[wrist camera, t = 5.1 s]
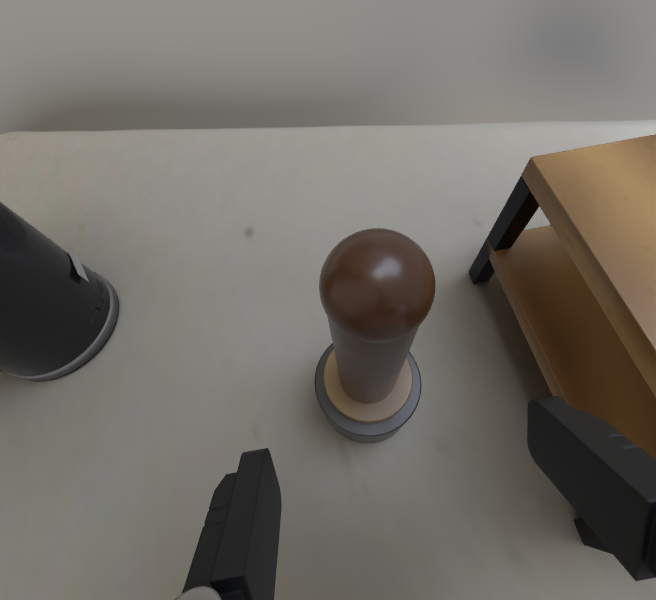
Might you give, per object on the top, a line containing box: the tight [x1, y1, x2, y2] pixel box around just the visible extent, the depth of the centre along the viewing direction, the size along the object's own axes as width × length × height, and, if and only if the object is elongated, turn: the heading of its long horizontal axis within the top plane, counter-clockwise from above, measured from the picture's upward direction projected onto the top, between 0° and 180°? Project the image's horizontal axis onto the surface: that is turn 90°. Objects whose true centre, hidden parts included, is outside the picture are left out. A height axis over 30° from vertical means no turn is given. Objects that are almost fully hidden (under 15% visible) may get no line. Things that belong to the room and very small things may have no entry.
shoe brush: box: [315, 228, 435, 443], centre depth 16 cm, size 6×6×17 cm
